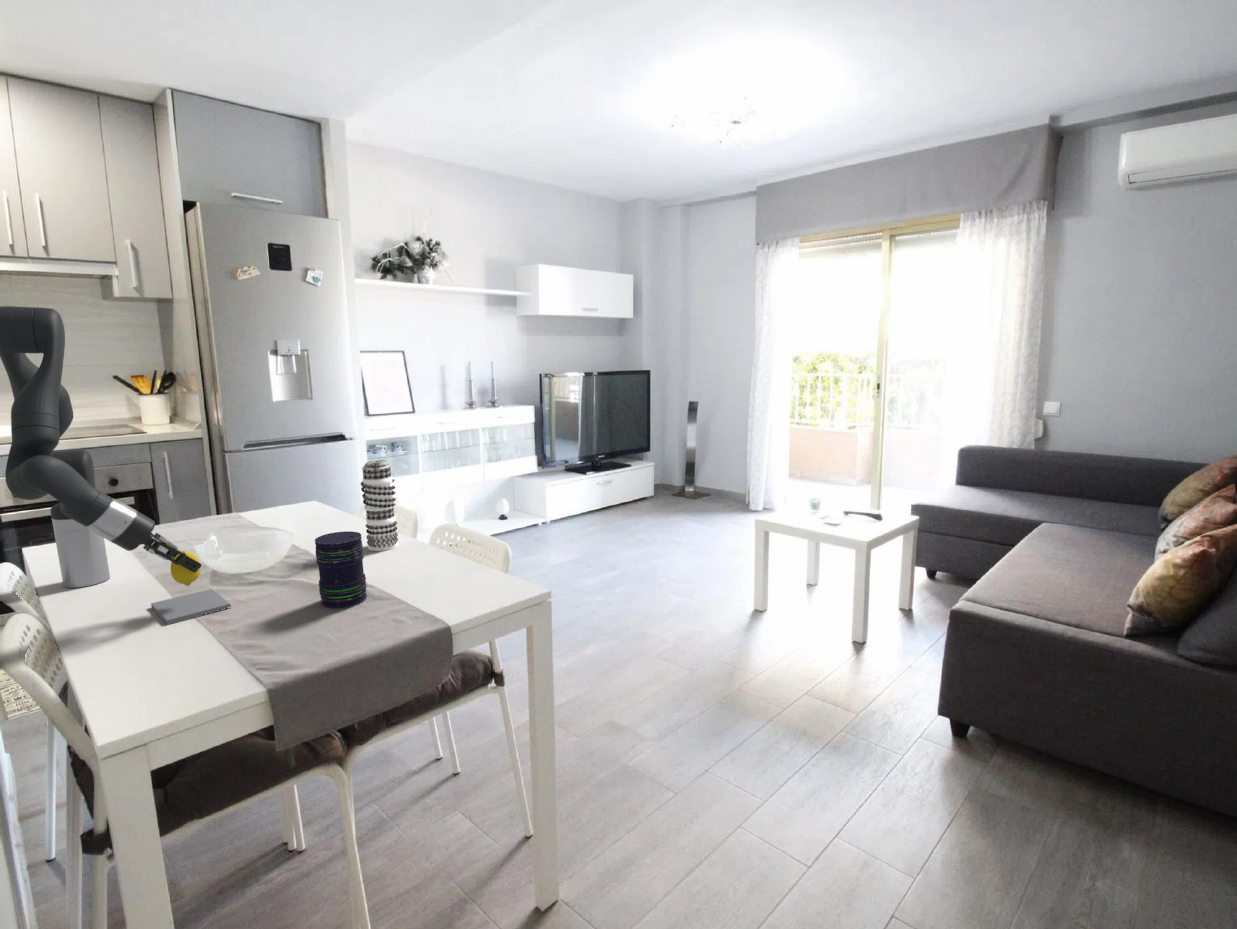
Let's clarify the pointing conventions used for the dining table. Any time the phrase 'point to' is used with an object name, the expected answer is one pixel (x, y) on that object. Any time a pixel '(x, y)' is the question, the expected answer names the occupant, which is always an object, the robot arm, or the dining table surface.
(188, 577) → the lemon
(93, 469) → the robot arm
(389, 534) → the decorative candle
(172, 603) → the mat
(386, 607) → the dining table surface
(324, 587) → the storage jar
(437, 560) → the dining table surface
